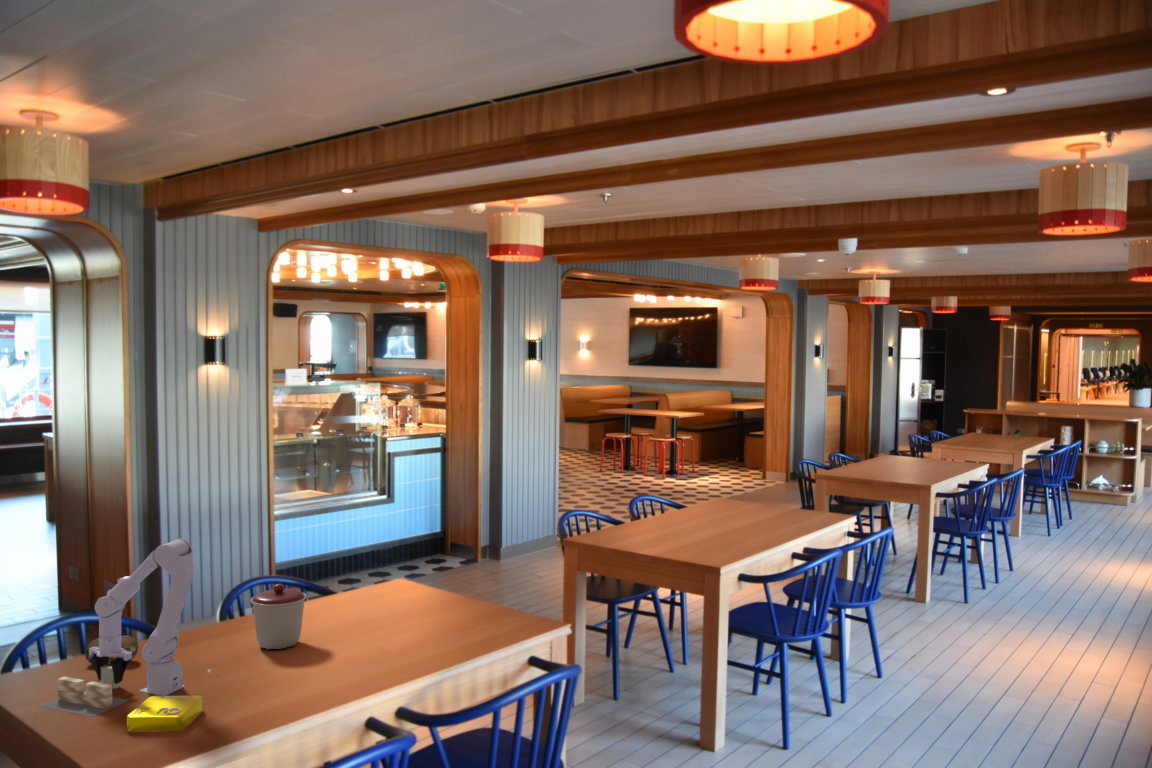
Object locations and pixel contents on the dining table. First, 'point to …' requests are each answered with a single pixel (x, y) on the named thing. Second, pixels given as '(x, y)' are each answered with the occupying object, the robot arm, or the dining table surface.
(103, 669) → the sage slotted block
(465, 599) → the dining table surface
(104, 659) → the robot arm
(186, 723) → the element tile
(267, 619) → the canister
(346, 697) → the dining table surface
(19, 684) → the dining table surface
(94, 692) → the birch notched plate
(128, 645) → the tin
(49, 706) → the slate mat
